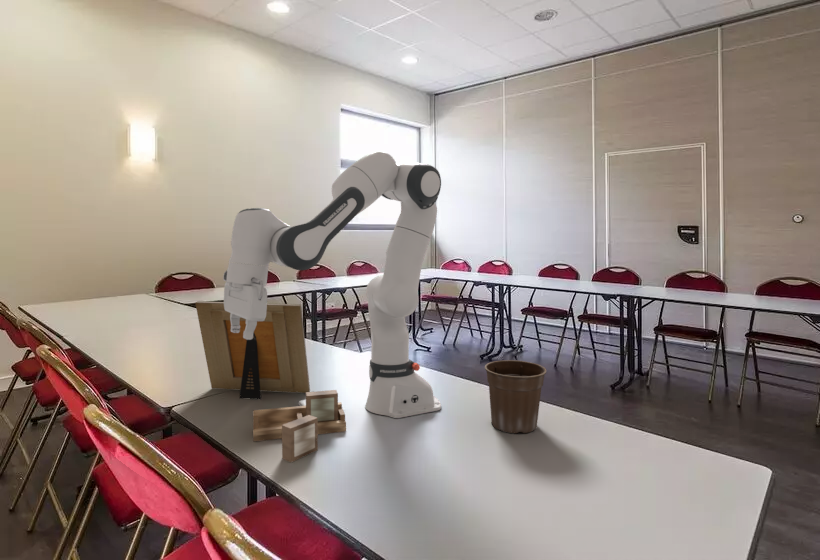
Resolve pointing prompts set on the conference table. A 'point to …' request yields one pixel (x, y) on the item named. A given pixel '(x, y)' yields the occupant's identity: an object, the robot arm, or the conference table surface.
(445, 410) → the conference table surface
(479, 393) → the conference table surface
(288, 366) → the picture frame
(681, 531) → the conference table surface
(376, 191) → the robot arm
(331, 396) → the frame
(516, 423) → the plant pot
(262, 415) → the oak rail
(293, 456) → the walnut frame
